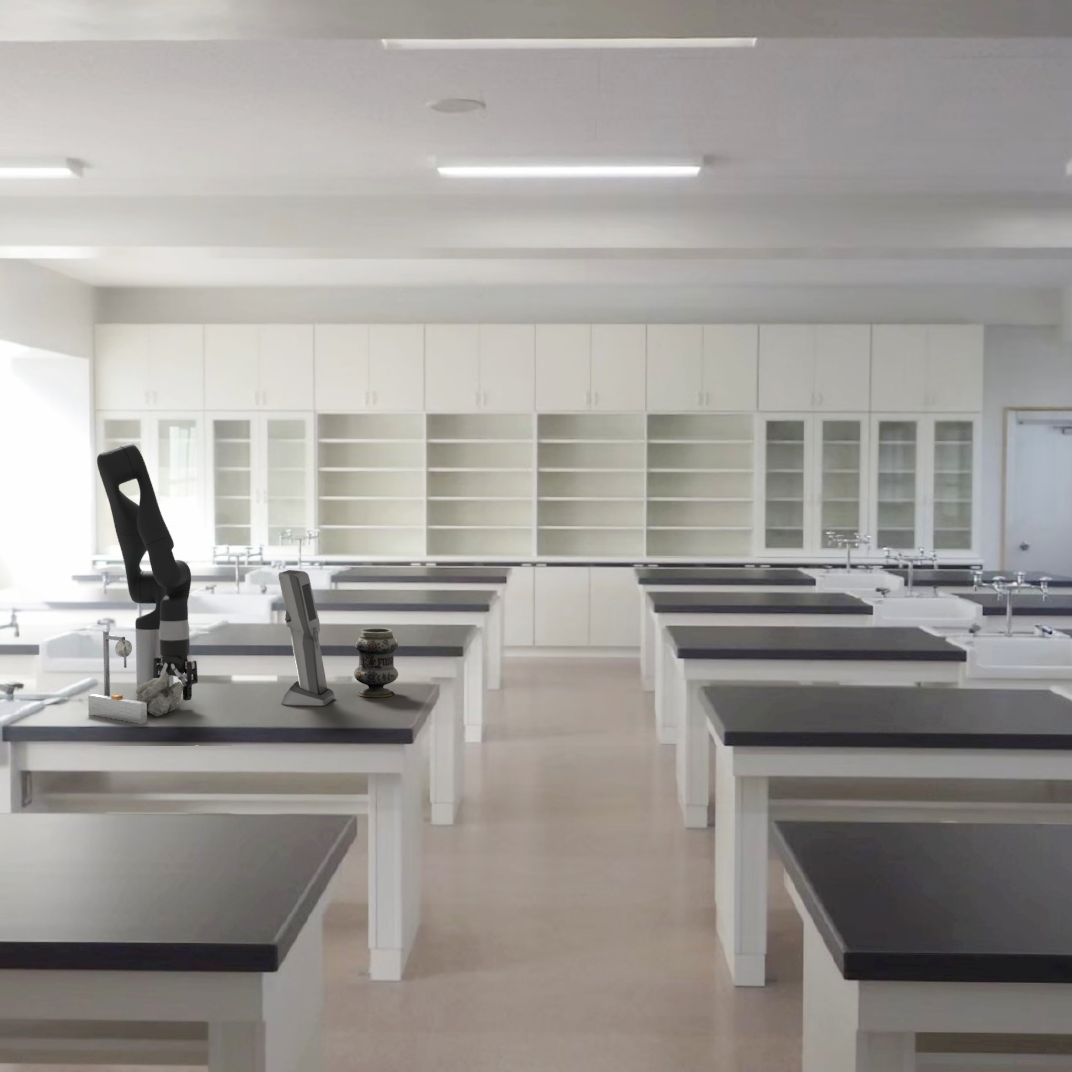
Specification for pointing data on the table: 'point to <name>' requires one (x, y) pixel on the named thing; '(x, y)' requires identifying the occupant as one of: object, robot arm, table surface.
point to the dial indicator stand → (121, 650)
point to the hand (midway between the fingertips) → (175, 698)
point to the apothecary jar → (376, 661)
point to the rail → (118, 708)
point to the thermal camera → (304, 642)
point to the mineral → (159, 695)
